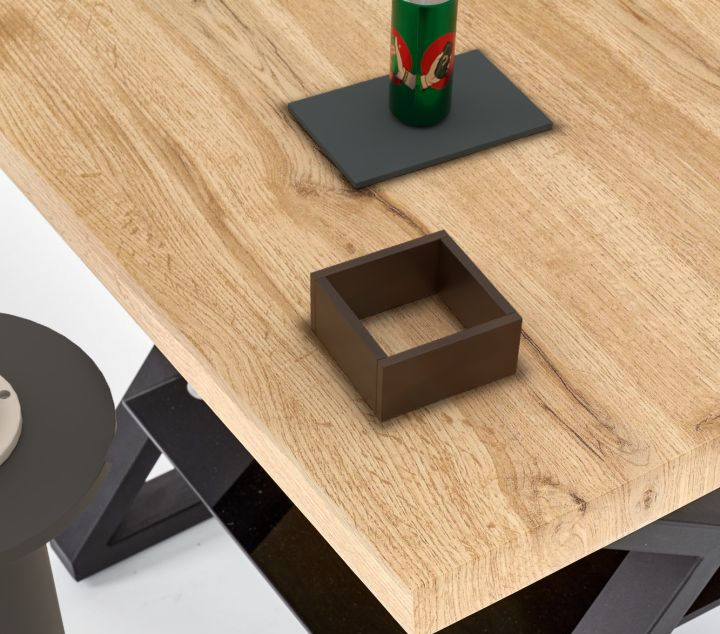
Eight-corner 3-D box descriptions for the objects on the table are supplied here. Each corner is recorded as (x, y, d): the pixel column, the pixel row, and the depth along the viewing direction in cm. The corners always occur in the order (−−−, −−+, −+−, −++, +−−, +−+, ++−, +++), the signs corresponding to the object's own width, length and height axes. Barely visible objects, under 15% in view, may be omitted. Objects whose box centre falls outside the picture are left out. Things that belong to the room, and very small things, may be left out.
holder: (381, 422, 105) (383, 367, 101) (310, 327, 111) (309, 272, 108) (516, 373, 109) (523, 317, 105) (440, 283, 115) (444, 228, 111)
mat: (355, 189, 122) (355, 183, 121) (287, 109, 129) (287, 103, 128) (552, 128, 127) (553, 122, 127) (477, 54, 134) (477, 48, 134)
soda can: (455, 99, 129) (465, -37, 120) (444, 134, 126) (453, -3, 117) (395, 91, 130) (400, -46, 120) (382, 126, 126) (386, -12, 117)
